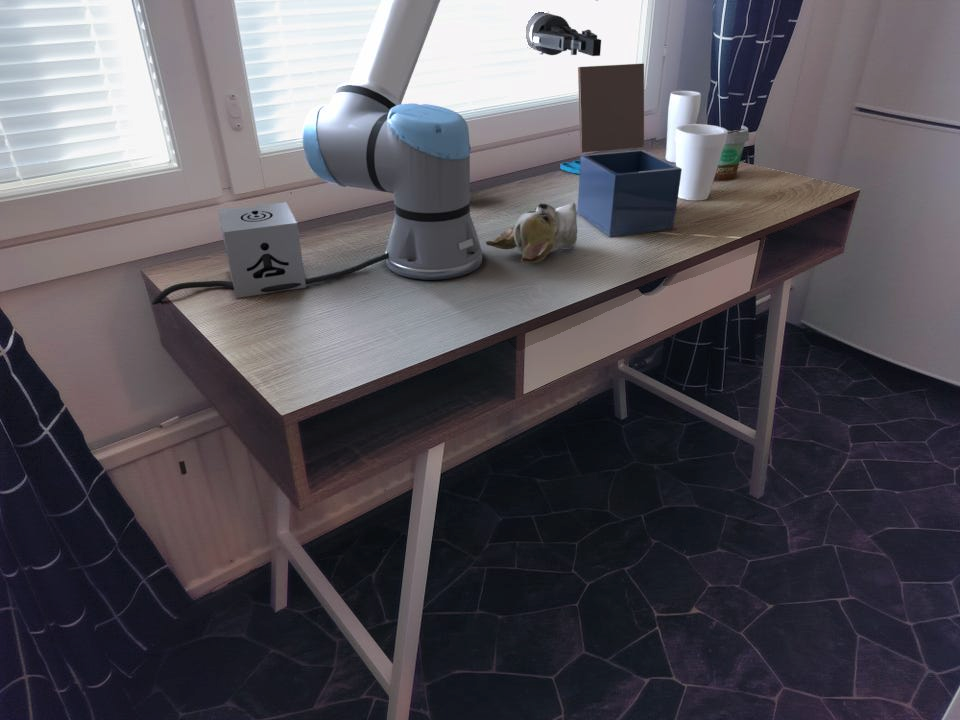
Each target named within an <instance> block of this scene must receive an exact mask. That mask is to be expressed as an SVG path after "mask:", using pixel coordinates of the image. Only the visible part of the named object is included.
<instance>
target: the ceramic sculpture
mask: <svg viewBox="0 0 960 720" xmlns="http://www.w3.org/2000/svg"><path fill="white" fill-rule="evenodd" d="M577 217H578V213H577V205H576V203H575V202H570V203H568V204H565V205H563V206H559V207H557V208H554V206H552V205H549V204H546V203H538V205H537V207H536V209H534V210H529V211H526V212H525V213H523V214H521V215H520V216H519V217H518V218H517V220H515V221H516V222H515V224H514V225H513V227H510V228H509V229H508V230H505V231H504V232H502V233H501V234H500V235H499V236H497V237H496V238H495V239H494V240H487V241H486V242H485V245H486V246H489V247H492V248H496V249H500V250H513V249H516V248H517V249H518V251H520V252H521V253H522V255H521V259H520V262H521V263H527V264H528V263H529V264H534V263H539V262H541V261H543V260H544V259H545V258H546V257H547V256H548V255H549V253H551V252H553V251H555V250H557V249H565V250H570V249H572V248H573V247H574V246H575V244H576V243H577V241H578V240H577V239H578V222H577Z"/></svg>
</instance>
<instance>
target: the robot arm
mask: <svg viewBox="0 0 960 720" xmlns="http://www.w3.org/2000/svg"><path fill="white" fill-rule="evenodd" d="M596 1H599V0H596ZM440 2H441V0H381V2H380V4H379V7H378V9H377V12H376V14H375V17H374V20H373V21H372V24H371V27H370V30H369V32H368V34H367V37H366V40H365V42H364V44H363V48H362V49H361V52H360V54H359V58H358V60H357V62H356V65H355V66H354V67H355V68H354V70H353V72H352V74H351V78H350V80H349V81H348V82H344V83H341V84H339V85H338V86H337V87H336V88H335V91H334V93H333V95H332V98H331V101H330V103H329V105H328V104H325V105H324V104H321V105H318V106H317V107H314V108H312V109H311V110H310V111H309V113H308V114H307V115H306V118H305V120H304V124H303V129H302V147H303V150H304V155H305V159H306V162H307V164H308V166H309V169H311V171H312V172H313V174H314V175H315V176H316V177H317V178H319V179H320V180H322V181H323V182H326V183H329V184H335V185H337V186H339V187H343V188H346V187H350V188H356V189H364V190H370V191H375V192H376V191H377V192H383V193H389V194H393V207H394V219H393V223H392V227H391V230H390V232H389V233H390V234H389V237H388V242H387V246H386V249H385V253H383V254H380V255H377V256H375V257H373V258H370V259H367V260H366V261H363V262H361V263H359V264H356V265H354V266H351V267H348V268H344V269H342V270H339V271H335V272H331V273H327V274H322V275H318V276H313V277H308V278H305V284H306V286H307V285H311V284H317V283H321V282H326V281H330V280H333V279H338V278H340V277H344V276H347V275H350V274H354V273H356V272H359V271H362V270H363V269H365V268H368V267H370V266H372V265H375V264H377V263H380V262H383V261H386V266H387V268H388V269H389V270H390V271H391V272H392V273H395V274H396V275H398V276H401V277H404V278H405V277H406V278H409V279H414V280H423V281H425V280H426V281H439V280H448V279H454V278H458V277H462V276H466V275H468V274H471V273H472V272H474V271H475V270H477V269H478V268H479V267H480V266H481V265H482V262H483V250H482V245H481V242H480V239H479V236H478V234H477V230H476V227H475V225H474V222H473V219H472V216H471V168H470V167H471V150H472V148H471V142H470V133H469V125H468V122H467V121H466V119H465V118H464V117H463V116H462V115H461V114H459V113H458V112H456V111H455V110H452V109H449V108H448V107H447V108H446V107H443V106H439V105H435V104H427V103H423V104H418V103H403V100H404V97H405V95H406V93H407V90H408V88H409V84H410V81H411V79H412V76H413V73H414V72H415V68H416V67H417V63H418V61H419V58H420V55H421V53H422V50H423V47H424V45H425V42H426V40H427V37H428V34H429V31H430V30H431V26H432V23H433V21H434V18H435V16H436V13H437V11H438V7H439V5H440ZM526 39H527V42H528V45H529V46H530V47H531V48H533V49H532V50H534V51H537V52H538V54H539V55H544V54H545V55H548V56H556V55H557V56H558V55H560V54H561V53H562V52H566V51H570V55H571V56H577V55H578V53H582V54H585V55H589V56H591V57H600V56H601V52H602V51H601V50H602V49H601V48H602V39H600V38H598V35H597V34H596V33H594V32H592V30H591V29H585V30H581V33H580V32H579V31H578V30H577V29H575V28H572V27H571V26H570V24H569V23H568V21H567V20H566V19H565V18H564V17H562V16H560V15H556V14H554V13H553V14H552V13H549V12H548V13H544V12H538V13H535V14H534V15H533V16H532V17H531V19H530V20H529V21H528V24H527V26H526ZM531 48H530V49H531ZM300 285H301V283H289V284H281V285H275V286H270V287H265V288H263V289H261V291H262V292H272V291H280V290H285V289H290V288H295V287H298V286H300ZM213 287H215V288H216V287H221V288H222V287H223V288H230V289H234V286H233V282H232V281H229V280H210V281H209V280H207V281H206V280H205V281H187V282H179V283H177V284H173V285H170V286H168V287H166V288H165V289H163V290H162V291H160V292H159V293H158V294H157V295H156V296H155V297H154V298H153V300H152V302H151V305H153V306H155V305H159V304H160V303H161V302H162V300H164V299H165V298H166V297H168V296H169V295H171V294H172V293H175V292H177V291H180V290H185V289H196V288H197V289H198V288H213ZM280 292H281V291H280ZM178 466H179V470H180V475H183V476H185V475H186V474H187V473H188V471H187V468H186V463H185V460H182V461H178Z"/></svg>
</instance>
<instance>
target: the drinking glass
mask: <svg viewBox="0 0 960 720" xmlns="http://www.w3.org/2000/svg"><path fill="white" fill-rule="evenodd" d="M701 101H702V93H701V92H699V91H694V90H673V91H671V92H670V94H669V101H668V108H667V125H666V126H667V127H666V146H665V161H667V162H669V163H671V164H676V141H675V137H676V130H677V128H678V127H679V126H681V125H686V124H698V119H699V114H700V107H701Z"/></svg>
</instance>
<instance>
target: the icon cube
mask: <svg viewBox="0 0 960 720" xmlns="http://www.w3.org/2000/svg"><path fill="white" fill-rule="evenodd" d="M217 214H218V218H219V224H220V230H221V234H222V239H223V245H224V249H225V255H226V260H227V264H228V269H229V274H230V279H231V282H233V286H234V288H233V291H234V295H235V298H236V299H241V298H246V297H247V298H248V297H253V296H260V295H265V294H266V295H267V294H272V293H278V292H279V293H280V292H286V291H291V290H298V289H305V288H306V287H307V285H306V284H305V279H306V277H305V270H304V261H303V256H302V255H303V254H302V248H301V247H302V246H301V241H300V234H299V227H298V226H299V225H298V222H297V220H296V217H295V215H294V213H293V212H292V210H291V209H290V207H289V204H288V203H287V202H286V201H284V202H275V203H268V204H258V205H251V206H243V207H233V208H225V209H217ZM289 283H301V285H300V286H298V287H295V288H290V289H285V290H280V291H272V292H262V291H261V289H263V288H265V287H270V286H275V285H281V284H289Z"/></svg>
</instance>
